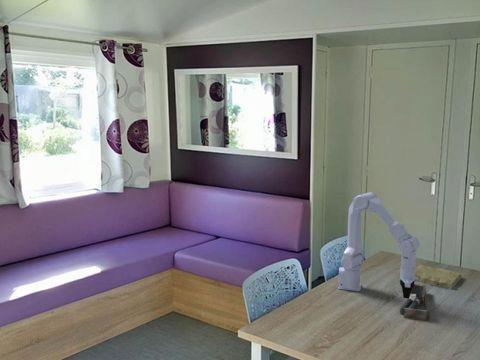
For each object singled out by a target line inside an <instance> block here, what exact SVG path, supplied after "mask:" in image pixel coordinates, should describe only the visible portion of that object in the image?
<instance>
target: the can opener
mask: <svg viewBox="0 0 480 360" xmlns="http://www.w3.org/2000/svg"><path fill="white" fill-rule="evenodd" d="M423 298H424V297H423V290H422V288H417V290H416V293H413V294H410V297H409V299H407V300H406V301H405V302H403V304H402V305H401V306H400V308H399V313H400V315H404V308H411V309H419V306H420V304H422V303H424V301H423Z"/></svg>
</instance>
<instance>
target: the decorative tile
mask: <svg viewBox="0 0 480 360" xmlns="http://www.w3.org/2000/svg"><path fill="white" fill-rule="evenodd" d="M415 277H418V280H414V282H418V283H421V284H424V285H426V284H427V285H429V286H433V287H437V288H441V289H445V290H452V289H453V288H454V287H455V286H456V285H457V284H458V283H459V282H460V281H461V280H462V273H461V272H458V271H457V272H455V271H452V270H449V269H442V268H437V267H433V266H428V265H423V264H419V265H418V266H416V267H415Z"/></svg>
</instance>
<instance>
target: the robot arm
mask: <svg viewBox="0 0 480 360" xmlns="http://www.w3.org/2000/svg"><path fill="white" fill-rule="evenodd" d="M365 211H368V212H372V213H375V214H377V216H378V217H379V218H380V219H381V220H382V221H383V222H384V224H385V225H386V226H387V227H388V232H389V234H390V235H391V236H392V237H393V239H395V241H396V242H397V243H398V249H399V250H400V251H401V253H400V255H401V256H400V269H399V270H400V274H399V284H400V287H401V289H402V297H403V299H407V300H408V299H409V298H410V297H411V293H412V292H411V290H412V288H413V287H414V285H415V284H416V283H415V281H414V280H418V277H415V268H416V267H417V266H416V265H417V264H416V263H417V249H418V248H419V247H420V241H419V239H418V238H417V236H415V235H412V233H409V231H408V230H407V229H406V228H405V225H404V223H401V222H399V221H396V220H395V219H394V218H393V217H392V215H391V214H390V213H389V211H388V210H387V208H386V207H385V206H384V204H383V203H382V200H381V198H380V197H378V195H377V194H376V193H375V192H373V191H369V192H368V191H367V192H366V193H362V194H358V195H357V196H355V197H353V198H352V202H351V204H350V205H349V207H348V218H347V241H346V243H347V244H346V248H345V250H344V251H343V255H342V258H341V261H340V264H341V266H340V267H339V269H338V282H337V283H338V284H337V285H338V287H337V289H339V290H345V291H346V290H347V291H354V292H361V289H362V283H361V268H362V264H363V263H364V260H365V259H364V258H365V257H364V254H363V249H362V248H361V231H362V230H361V228H362V213H363V212H365Z"/></svg>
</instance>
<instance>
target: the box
mask: <svg viewBox="0 0 480 360" xmlns="http://www.w3.org/2000/svg"><path fill="white" fill-rule="evenodd" d="M414 284H415V285H414V287H413V288H412V290H411V293H413V294H416V290H417V288H422V290H423V294H422V297H424V298H423V307H424V309H419V308H417V309H411V308H404V314H403V318H405V319H415V320H423V321H430V307H429V306H430V305H429V299H428V294H427V292H428V291H427V288H426V284H416V283H414Z"/></svg>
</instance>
